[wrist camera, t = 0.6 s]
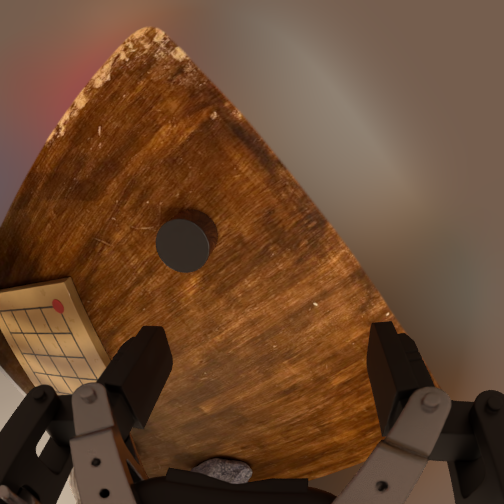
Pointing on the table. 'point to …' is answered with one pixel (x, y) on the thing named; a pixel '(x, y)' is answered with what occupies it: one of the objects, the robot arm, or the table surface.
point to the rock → (225, 470)
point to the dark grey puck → (186, 241)
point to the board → (52, 335)
